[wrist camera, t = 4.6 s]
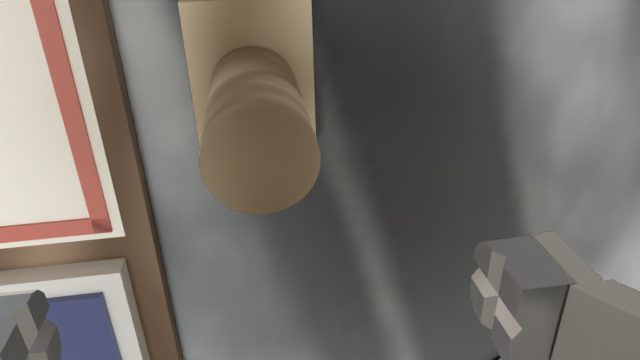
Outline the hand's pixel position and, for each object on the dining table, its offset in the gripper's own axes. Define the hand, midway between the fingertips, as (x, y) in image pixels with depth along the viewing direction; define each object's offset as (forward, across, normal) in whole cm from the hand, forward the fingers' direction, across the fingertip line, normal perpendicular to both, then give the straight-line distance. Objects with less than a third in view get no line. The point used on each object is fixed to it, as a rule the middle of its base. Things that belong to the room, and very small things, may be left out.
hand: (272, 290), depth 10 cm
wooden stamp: (+15, 0, 0) cm, 15 cm away
